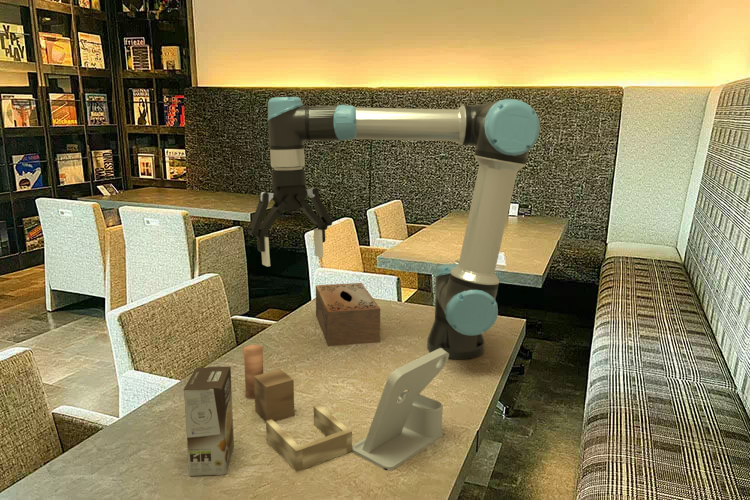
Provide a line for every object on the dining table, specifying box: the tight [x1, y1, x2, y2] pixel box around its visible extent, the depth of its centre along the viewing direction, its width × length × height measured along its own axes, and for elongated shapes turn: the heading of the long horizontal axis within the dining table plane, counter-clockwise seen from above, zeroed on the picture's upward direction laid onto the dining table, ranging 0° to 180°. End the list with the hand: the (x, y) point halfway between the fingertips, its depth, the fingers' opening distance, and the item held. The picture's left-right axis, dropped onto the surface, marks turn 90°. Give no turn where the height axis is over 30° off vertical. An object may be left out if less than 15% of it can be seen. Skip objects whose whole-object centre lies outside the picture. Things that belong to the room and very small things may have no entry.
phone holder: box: [351, 348, 450, 471], centre depth 107 cm, size 17×10×18 cm, turn 138°
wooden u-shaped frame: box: [265, 404, 353, 473], centre depth 107 cm, size 12×11×4 cm
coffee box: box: [183, 366, 235, 477], centre depth 100 cm, size 9×6×16 cm
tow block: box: [243, 344, 295, 423], centre depth 121 cm, size 15×6×11 cm, turn 35°
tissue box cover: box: [315, 282, 381, 347], centre depth 167 cm, size 26×14×10 cm, turn 13°
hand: (293, 260), depth 133 cm, fingers open, 13 cm apart
